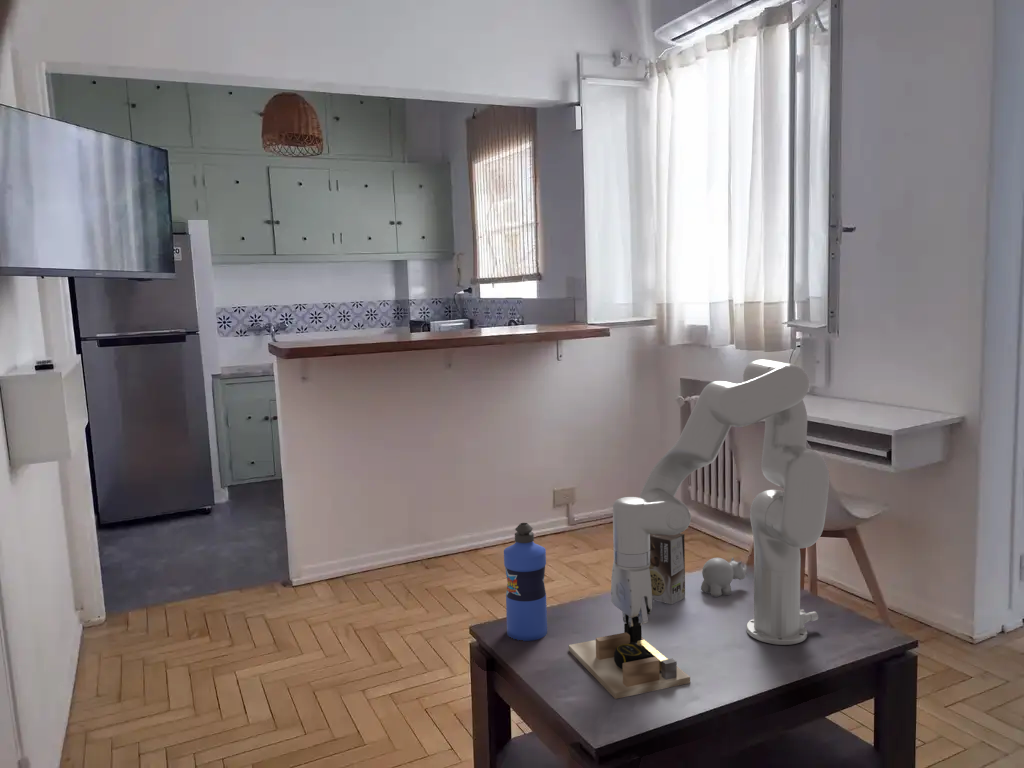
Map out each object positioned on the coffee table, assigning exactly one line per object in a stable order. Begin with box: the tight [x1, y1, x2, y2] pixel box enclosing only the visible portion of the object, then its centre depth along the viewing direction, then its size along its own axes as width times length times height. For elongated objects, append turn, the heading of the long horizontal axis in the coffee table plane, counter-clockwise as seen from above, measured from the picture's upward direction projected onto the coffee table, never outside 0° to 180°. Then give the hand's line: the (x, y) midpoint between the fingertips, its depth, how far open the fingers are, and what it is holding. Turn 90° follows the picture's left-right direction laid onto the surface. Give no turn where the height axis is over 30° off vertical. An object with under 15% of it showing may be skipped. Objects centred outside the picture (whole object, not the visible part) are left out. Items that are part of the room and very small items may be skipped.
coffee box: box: [649, 532, 686, 605], centre depth 196 cm, size 9×6×16 cm
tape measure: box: [614, 642, 654, 669], centre depth 158 cm, size 7×7×4 cm
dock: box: [568, 632, 691, 700], centre depth 162 cm, size 16×22×5 cm
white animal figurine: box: [700, 557, 747, 597], centre depth 199 cm, size 8×12×9 cm, turn 111°
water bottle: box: [503, 522, 548, 642], centre depth 178 cm, size 9×9×25 cm
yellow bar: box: [637, 639, 668, 670], centre depth 160 cm, size 2×10×2 cm, turn 19°
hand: (633, 641), depth 168 cm, fingers closed
